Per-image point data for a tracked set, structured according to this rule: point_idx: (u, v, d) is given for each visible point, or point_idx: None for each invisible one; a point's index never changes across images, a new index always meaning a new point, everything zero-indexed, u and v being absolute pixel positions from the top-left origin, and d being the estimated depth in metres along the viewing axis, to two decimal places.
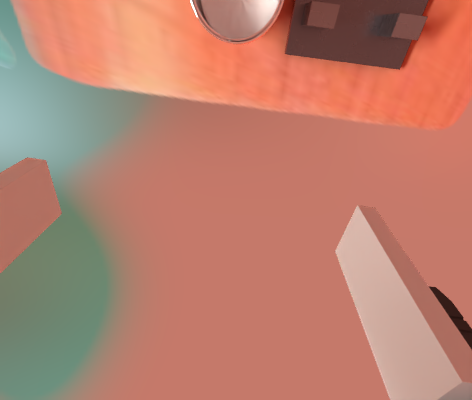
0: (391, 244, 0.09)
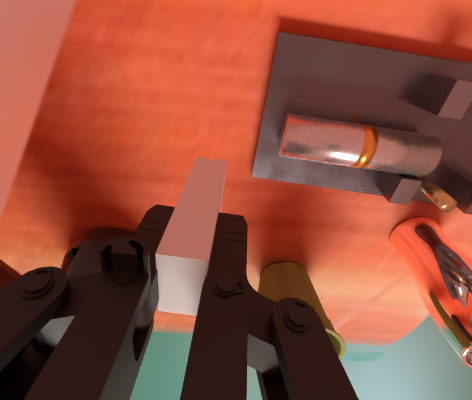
0: (214, 183, 0.11)
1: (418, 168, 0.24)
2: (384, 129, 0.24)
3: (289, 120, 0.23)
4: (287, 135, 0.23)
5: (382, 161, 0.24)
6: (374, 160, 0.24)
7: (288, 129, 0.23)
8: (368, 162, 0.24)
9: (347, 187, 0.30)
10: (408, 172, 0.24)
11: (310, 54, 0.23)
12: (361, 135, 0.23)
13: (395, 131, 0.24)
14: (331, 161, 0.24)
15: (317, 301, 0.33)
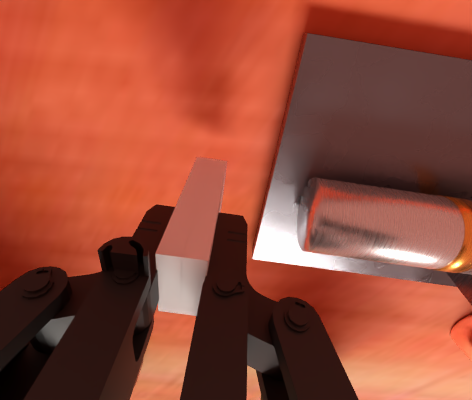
0: (214, 183, 0.11)
1: None
2: None
3: (324, 199, 0.12)
4: (321, 227, 0.12)
5: None
6: None
7: (322, 217, 0.12)
8: (465, 269, 0.13)
9: (402, 275, 0.19)
10: None
11: (364, 75, 0.12)
12: (458, 226, 0.12)
13: None
14: (395, 263, 0.14)
15: None
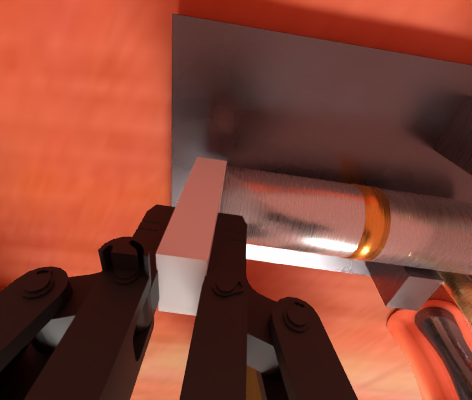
0: (214, 183, 0.11)
1: (462, 268, 0.13)
2: (401, 198, 0.13)
3: (223, 185, 0.12)
4: None
5: (397, 257, 0.13)
6: (383, 255, 0.13)
7: (221, 203, 0.12)
8: (372, 257, 0.13)
9: (321, 265, 0.19)
10: (443, 270, 0.14)
11: (238, 58, 0.12)
12: (359, 213, 0.12)
13: (421, 202, 0.13)
14: None
15: None
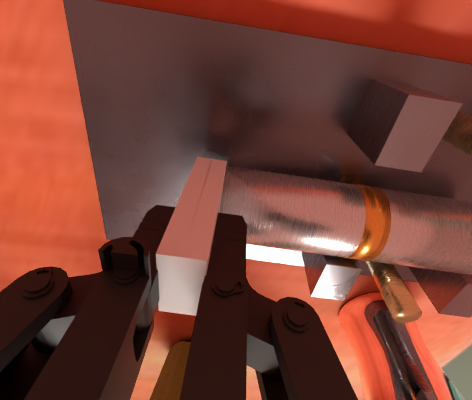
0: (214, 183, 0.11)
1: (462, 268, 0.13)
2: (401, 198, 0.13)
3: (224, 185, 0.12)
4: None
5: (398, 257, 0.13)
6: (383, 255, 0.13)
7: (221, 203, 0.12)
8: (373, 257, 0.13)
9: (259, 256, 0.19)
10: (443, 270, 0.14)
11: (136, 41, 0.12)
12: (359, 213, 0.12)
13: (422, 202, 0.13)
14: (306, 251, 0.14)
15: None
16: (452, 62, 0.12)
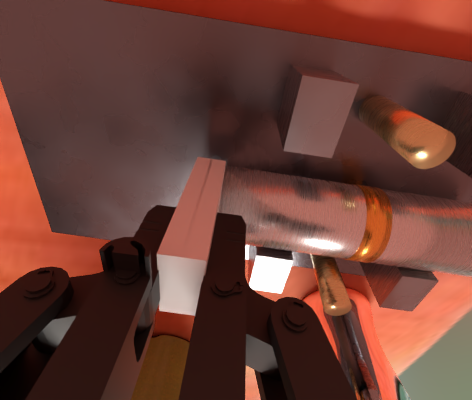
0: (213, 183, 0.11)
1: (465, 271, 0.13)
2: (403, 199, 0.13)
3: (223, 186, 0.12)
4: None
5: (399, 259, 0.13)
6: (384, 257, 0.13)
7: (220, 204, 0.12)
8: (374, 258, 0.13)
9: None
10: (445, 272, 0.14)
11: (48, 25, 0.12)
12: (360, 215, 0.12)
13: (424, 203, 0.13)
14: None
15: None
16: (370, 46, 0.11)
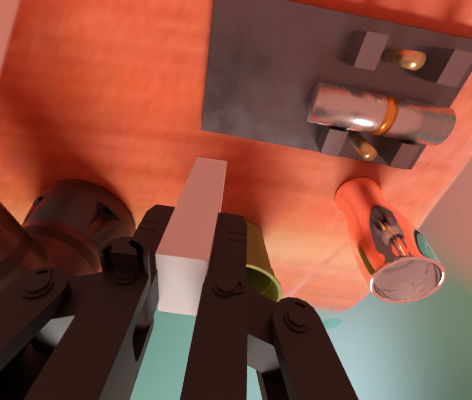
0: (214, 183, 0.11)
1: (433, 136, 0.27)
2: (404, 99, 0.26)
3: (320, 87, 0.26)
4: (318, 100, 0.26)
5: (401, 128, 0.26)
6: (394, 127, 0.26)
7: (319, 95, 0.26)
8: (389, 128, 0.27)
9: (289, 143, 0.32)
10: (423, 140, 0.27)
11: (244, 8, 0.25)
12: (384, 103, 0.26)
13: (414, 101, 0.26)
14: (355, 127, 0.27)
15: (262, 252, 0.35)
16: (392, 23, 0.25)
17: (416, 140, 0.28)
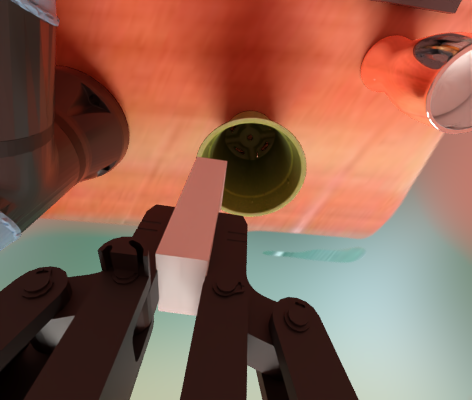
0: (214, 183, 0.11)
1: None
2: None
3: None
4: None
5: None
6: None
7: None
8: None
9: None
10: None
11: None
12: None
13: None
14: None
15: None
16: None
17: None
